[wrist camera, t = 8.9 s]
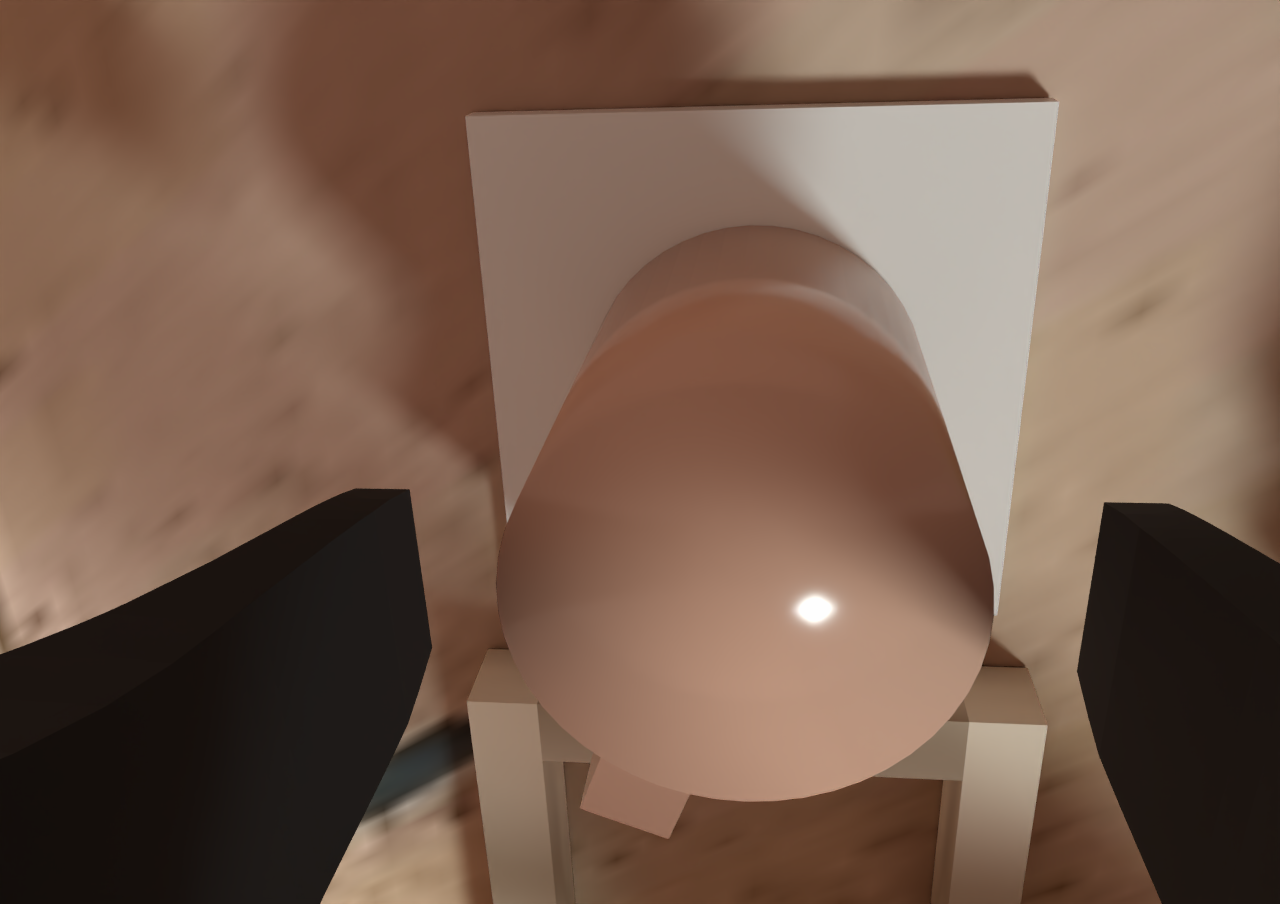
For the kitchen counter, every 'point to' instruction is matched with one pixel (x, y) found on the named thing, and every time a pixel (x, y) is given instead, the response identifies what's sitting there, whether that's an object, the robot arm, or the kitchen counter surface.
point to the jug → (746, 536)
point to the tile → (771, 196)
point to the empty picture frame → (957, 754)
